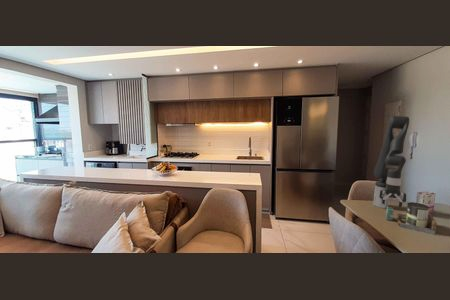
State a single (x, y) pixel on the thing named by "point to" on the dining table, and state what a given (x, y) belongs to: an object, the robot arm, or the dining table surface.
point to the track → (416, 227)
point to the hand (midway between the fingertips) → (391, 205)
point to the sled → (389, 214)
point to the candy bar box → (426, 199)
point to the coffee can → (417, 214)
